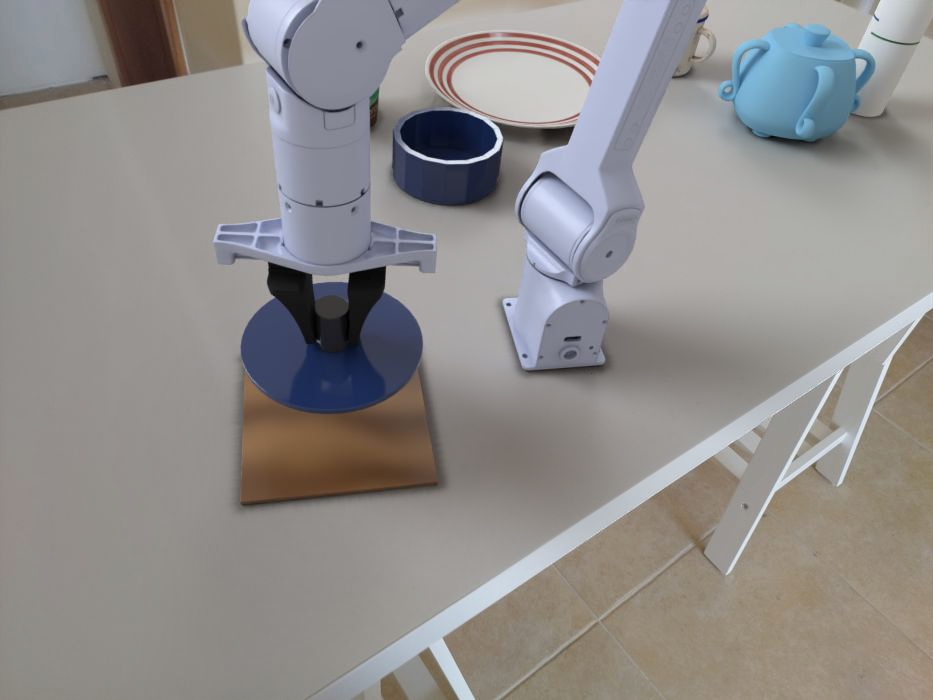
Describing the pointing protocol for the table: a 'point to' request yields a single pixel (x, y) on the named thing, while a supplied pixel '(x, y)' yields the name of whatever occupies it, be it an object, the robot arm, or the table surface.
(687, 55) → the teacup with lid
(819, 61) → the decorative pot
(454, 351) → the table surface
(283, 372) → the tin lid
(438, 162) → the tin
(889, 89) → the cylindrical container
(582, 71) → the dinner plate
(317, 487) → the board
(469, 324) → the table surface
